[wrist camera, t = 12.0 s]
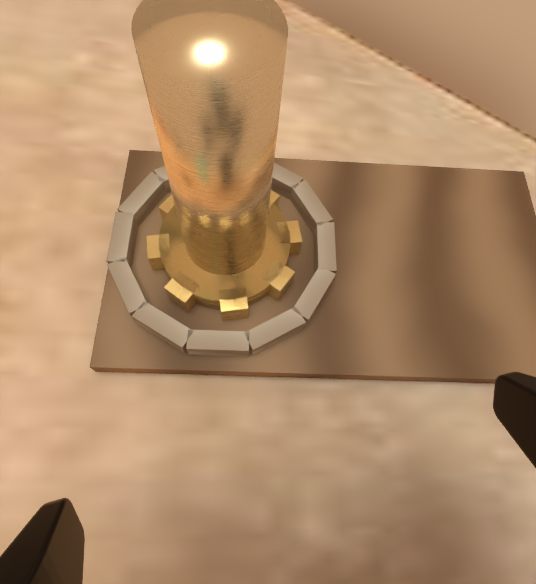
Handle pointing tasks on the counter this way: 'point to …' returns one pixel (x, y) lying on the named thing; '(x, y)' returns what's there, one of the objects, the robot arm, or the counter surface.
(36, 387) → the counter surface
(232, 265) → the gold piece
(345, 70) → the counter surface
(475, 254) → the carrier plate
